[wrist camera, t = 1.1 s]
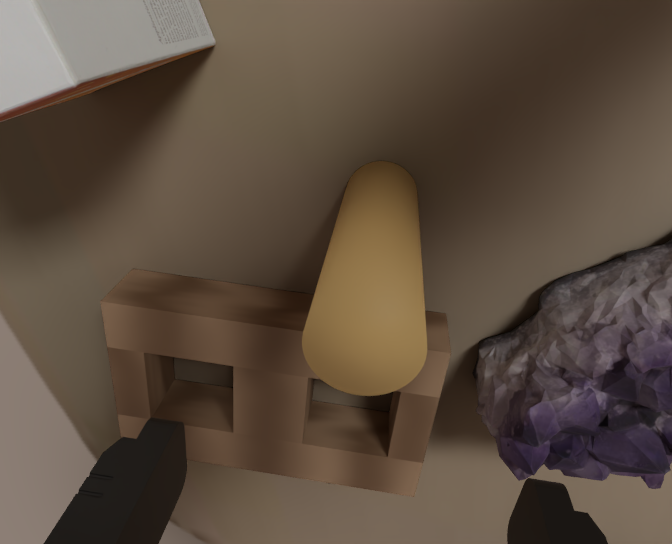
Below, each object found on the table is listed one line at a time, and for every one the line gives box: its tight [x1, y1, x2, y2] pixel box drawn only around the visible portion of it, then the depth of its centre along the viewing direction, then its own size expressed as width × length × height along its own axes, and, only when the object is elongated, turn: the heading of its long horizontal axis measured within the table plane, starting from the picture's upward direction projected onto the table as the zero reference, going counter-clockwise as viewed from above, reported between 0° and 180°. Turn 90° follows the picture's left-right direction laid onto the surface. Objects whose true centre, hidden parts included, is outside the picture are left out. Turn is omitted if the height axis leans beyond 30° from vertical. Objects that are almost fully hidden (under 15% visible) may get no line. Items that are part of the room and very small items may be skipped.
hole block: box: [100, 269, 451, 497], centre depth 33 cm, size 20×12×4 cm, turn 84°
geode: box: [473, 239, 672, 489], centre depth 27 cm, size 20×12×10 cm, turn 126°
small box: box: [0, 0, 215, 122], centre depth 20 cm, size 8×6×13 cm
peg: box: [302, 161, 427, 396], centre depth 22 cm, size 4×4×14 cm
